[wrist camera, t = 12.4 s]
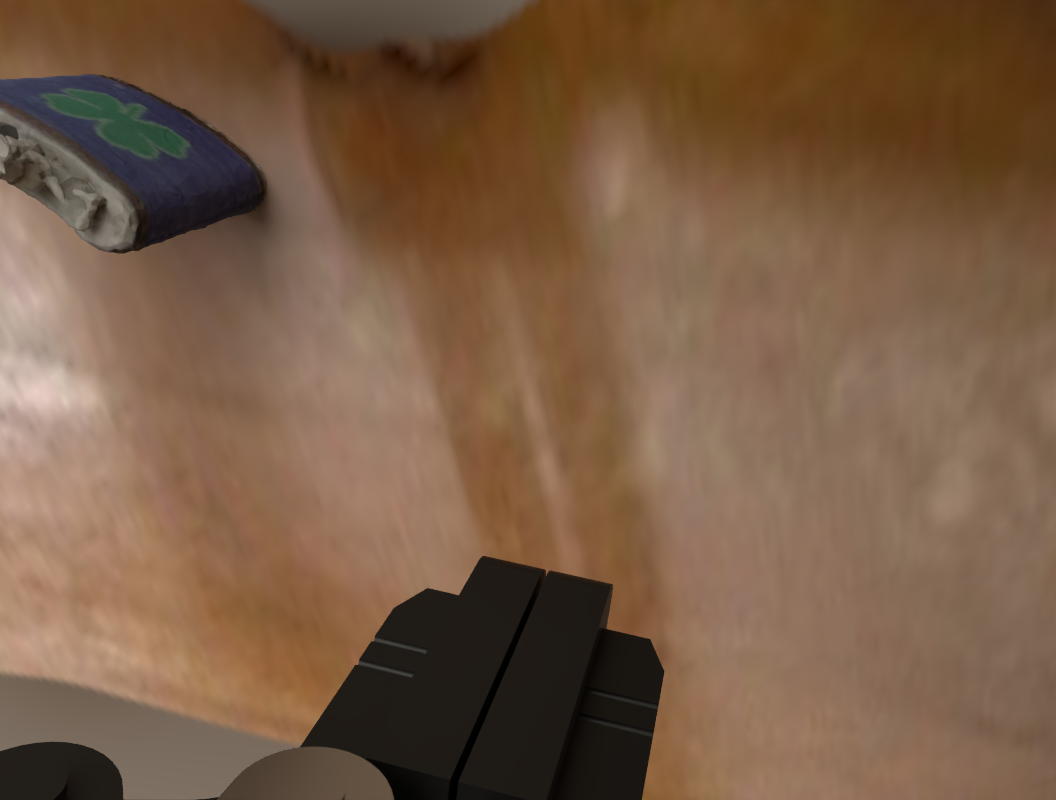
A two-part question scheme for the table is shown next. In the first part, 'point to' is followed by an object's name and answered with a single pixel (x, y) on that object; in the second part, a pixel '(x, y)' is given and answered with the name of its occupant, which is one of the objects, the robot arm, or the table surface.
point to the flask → (120, 160)
